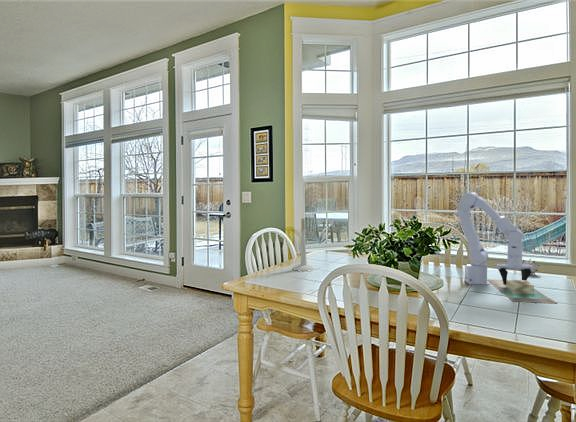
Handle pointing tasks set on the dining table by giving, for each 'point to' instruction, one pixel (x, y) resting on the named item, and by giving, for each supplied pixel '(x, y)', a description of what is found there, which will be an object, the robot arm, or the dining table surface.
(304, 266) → the candlestick
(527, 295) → the shallow brown tray
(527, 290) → the birch block
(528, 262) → the game die
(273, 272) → the dining table surface
